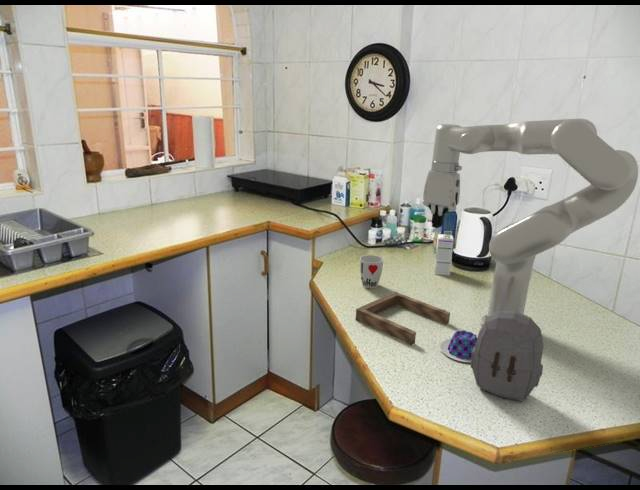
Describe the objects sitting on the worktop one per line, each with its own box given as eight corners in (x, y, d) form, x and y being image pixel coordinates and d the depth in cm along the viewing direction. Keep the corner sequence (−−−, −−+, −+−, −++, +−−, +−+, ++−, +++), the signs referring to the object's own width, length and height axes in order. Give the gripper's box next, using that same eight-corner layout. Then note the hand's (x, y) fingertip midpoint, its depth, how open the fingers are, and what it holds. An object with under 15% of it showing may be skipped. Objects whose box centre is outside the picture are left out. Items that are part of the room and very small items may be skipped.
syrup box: (450, 276, 175) (454, 239, 170) (434, 274, 176) (438, 237, 171) (449, 270, 180) (453, 234, 176) (433, 269, 181) (437, 233, 177)
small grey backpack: (538, 394, 106) (554, 315, 100) (533, 414, 99) (550, 331, 93) (471, 373, 113) (482, 298, 107) (462, 391, 106) (473, 312, 100)
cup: (354, 286, 162) (356, 260, 159) (363, 279, 169) (365, 253, 166) (376, 291, 159) (378, 264, 156) (384, 284, 165) (386, 257, 162)
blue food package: (446, 249, 205) (453, 193, 197) (452, 258, 194) (460, 200, 186) (432, 249, 205) (438, 193, 198) (437, 258, 194) (444, 199, 186)
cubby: (448, 323, 138) (450, 312, 137) (411, 345, 125) (412, 333, 124) (394, 301, 151) (395, 291, 150) (355, 319, 138) (356, 308, 137)
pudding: (476, 370, 115) (478, 352, 113) (431, 353, 122) (433, 335, 121) (493, 351, 124) (496, 334, 122) (451, 336, 131) (453, 319, 129)
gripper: (473, 170, 135) (464, 230, 141) (428, 162, 145) (421, 219, 151) (462, 172, 130) (453, 234, 136) (415, 165, 139) (409, 223, 145)
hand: (436, 226), depth 143 cm, fingers closed
